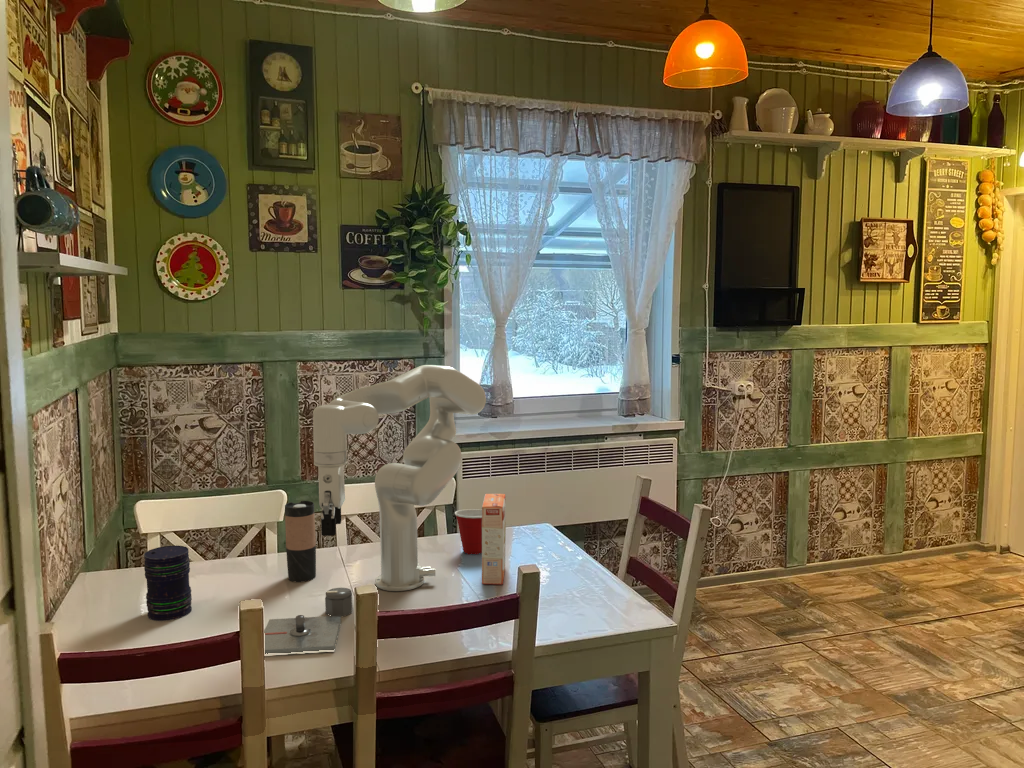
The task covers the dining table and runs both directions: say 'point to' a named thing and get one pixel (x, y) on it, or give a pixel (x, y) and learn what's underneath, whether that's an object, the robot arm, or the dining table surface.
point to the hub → (301, 634)
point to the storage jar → (167, 583)
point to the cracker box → (493, 538)
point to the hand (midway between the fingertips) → (331, 529)
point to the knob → (338, 602)
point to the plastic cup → (470, 530)
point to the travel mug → (300, 541)
